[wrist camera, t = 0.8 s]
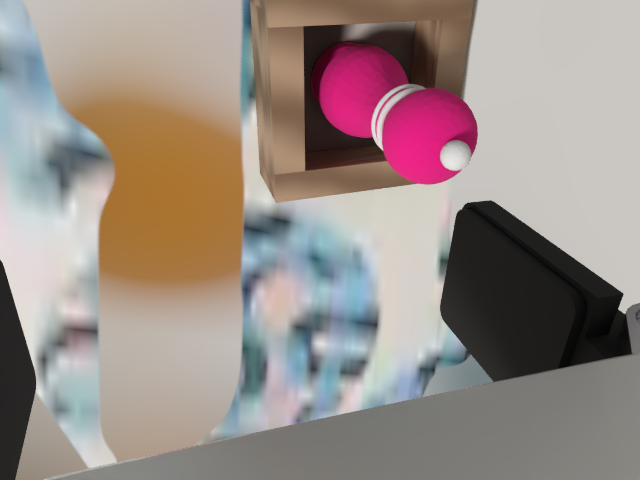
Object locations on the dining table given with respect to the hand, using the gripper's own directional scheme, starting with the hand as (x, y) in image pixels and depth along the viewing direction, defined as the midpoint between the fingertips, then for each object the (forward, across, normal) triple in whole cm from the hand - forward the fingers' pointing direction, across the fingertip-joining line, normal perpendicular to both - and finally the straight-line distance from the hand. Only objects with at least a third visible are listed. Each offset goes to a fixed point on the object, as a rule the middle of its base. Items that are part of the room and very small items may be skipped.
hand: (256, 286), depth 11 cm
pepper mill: (+36, -15, +3) cm, 39 cm away
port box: (+36, -15, +3) cm, 39 cm away
